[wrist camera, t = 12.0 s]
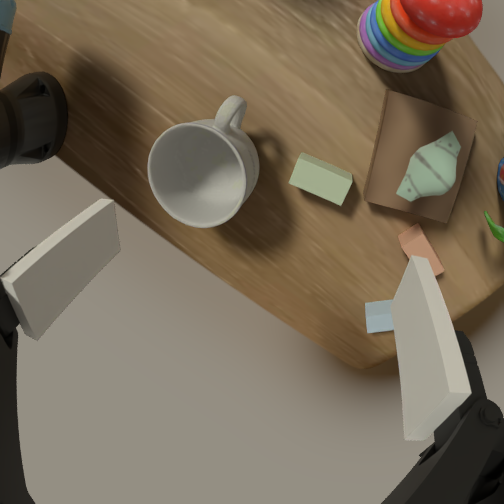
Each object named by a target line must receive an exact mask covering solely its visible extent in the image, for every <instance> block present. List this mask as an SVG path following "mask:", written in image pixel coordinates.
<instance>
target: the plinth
mask: <svg viewBox="0 0 504 504" xmlns="http://www.w3.org/2000/svg"><path fill="white" fill-rule="evenodd" d="M477 122H478V121H476V120H474V119H472V118H469V117H467V116H464V115H462V114H459V113H457V112H454V111H451V110H449V109H446V108H443V107H441V106H438V105H435V104H432V103H429V102H426V101H423V100H420V99H417V98H414V97H411V96H408V95H405V94H401V93H398V92H394V91H391V90H386V91H385V97H384V102H383V107H382V113H381V118H380V123H379V127H378V132H377V137H376V141H375V146H374V150H373V155H372V159H371V163H370V168H369V172H368V176H367V180H366V184H365V188H364V192H363V195H364V200H365V201H367V202H371V203H375V204H379V205H382V206H386V207H390V208H394V209H397V210H401V211H405V212H408V213H412V214H415V215H419V216H422V217H426V218H429V219H433V220H436V221H439V222H443V223H446V224H447V222H448V219H449V217H450V214H451V211H452V208H453V205H454V202H455V200H456V197H457V194H458V191H459V187H460V184H461V181H462V178H463V175H464V171H465V168H466V165H467V161H468V158H469V154H470V150H471V146H472V143H473V139H474V135H475V130H476V126H477ZM451 131H453V133H454V135H455V136H456V138H457V140H458V142H459V144H460V146H461V148H460V151H459V153H458V156H457V164H456V180H455V183H454V184H453V186H452V188H451V190H449V191H448V192H446V193H445V194H443V195H432V196H424V197H419V198H417V199H415V200H413V201H411V202H410V201H408V200H407V199H405V198H403V197H401V196H399V195H397V194H396V192H397V190H398V188H399V186H400V184H401V182H402V181H403V179H404V177H405V174H406V171H407V168H408V166H409V162H410V158H411V157H412V156H413V154H414V153H415V152H416V151H417V150H418V149H419V148H420V147H423V146H425V145H428V144H430V143H432V142H435V141H437V140H438V139H440V138H441V137H443V136H445V135H446V134H448V133H449V132H451Z"/></svg>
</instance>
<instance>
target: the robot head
mask: <svg viewBox="0 0 504 504" xmlns="http://www.w3.org/2000/svg"><path fill="white" fill-rule="evenodd" d="M460 148H461V146H460V144H459V142H458V140H457V138H456V136H455V135H454V133H453V131H451V132H449V133H448V134H446V135H445V136H443V137H441V138H440V139H438V140H437V141H435V142H432V143H430V144H428V145H425V146H423V147H420V148H419V149H418V150H417V151H416V152H415V153H414V154H413V156H412V157H411V158H410V162H409V166H408V168H407V171H406V174H405V177H404V179H403V181H402V182H401V184H400V186H399V188H398V190H397V192H396V194H397V195H399V196H401V197H403V198H405V199H407V200H408V201H410V202H411V201H413V200H415V199H417V198H419V197H424V196H432V195H443V194H445V193H446V192H448V191H449V190H451V188H452V186H453V184H454V183H455V180H456V164H457V156H458V153H459V151H460Z"/></svg>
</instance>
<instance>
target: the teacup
mask: <svg viewBox="0 0 504 504" xmlns="http://www.w3.org/2000/svg"><path fill="white" fill-rule="evenodd" d="M246 107H247V103H246V101H245V100H244V99H243V98H241V97H239V96H234V95H233V96H230V97H229V98H228V99H226V100H225V101H224V103H223V104H222V105H221V107H220V109H219V110H218V112H217V115H216V117H215V119H206V120H199V121H194V122H190V123H182V124H178V125H175V126H173V127H171V128H169V129H168V130H166V131H165V132H164V133H162V134H161V136H160V137H159V138H158V139H157V140H156V141H155V143H154V145H153V147H152V149H151V151H150V155H149V159H148V178H149V183H150V186H151V189H152V191H153V194H154V195H155V197H156V199H157V201H158V202H159V203H160V205H161V206H162V207H163V208H164V210H165V211H166V212H168V213H169V214H170V215H171V216H172V217H173V218H174V219H177V220H178V221H180V222H182V223H184V224H186V225H189V226H192V227H197V228H209V227H215V226H218V225H221V224H223V223H225V222H227V221H228V220H229V219H231V218H232V217H233V216H234V215H235V214H236V213H237V212H238V210H239V209H240V207H241V206H242V204H243V203H244V202H245V201H246V199H247V198H248V197H249V196H250V194H251V193H252V191H253V189H254V187H255V185H256V183H257V180H258V176H259V158H258V154H257V151H256V148H255V146H254V144H253V142H252V141H251V139H250V138H249V137H248V135H247V134H246V133H245V132H244V131H242V130H241V129H240V128H241V122H242V120H243V117H244V114H245V111H246Z"/></svg>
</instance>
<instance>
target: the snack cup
mask: <svg viewBox="0 0 504 504" xmlns="http://www.w3.org/2000/svg"><path fill="white" fill-rule="evenodd" d="M497 184H498V191H499V193H500V195H501V197H502V199H503V201H504V158H503V159H502V160H501V161H500V163H499V167H498V175H497ZM484 214H485V217H486V220H487V222H488V225H489V227H490V229H491V231H492V233H493V235H494V237H496V238H497V239H498V240H500V241H502V242H504V228H503V227H501V226H498V225H496V224H495V223H494V222H493V220H492V219H491V218H490V216H489V215H488V213H487V211H484Z"/></svg>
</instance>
